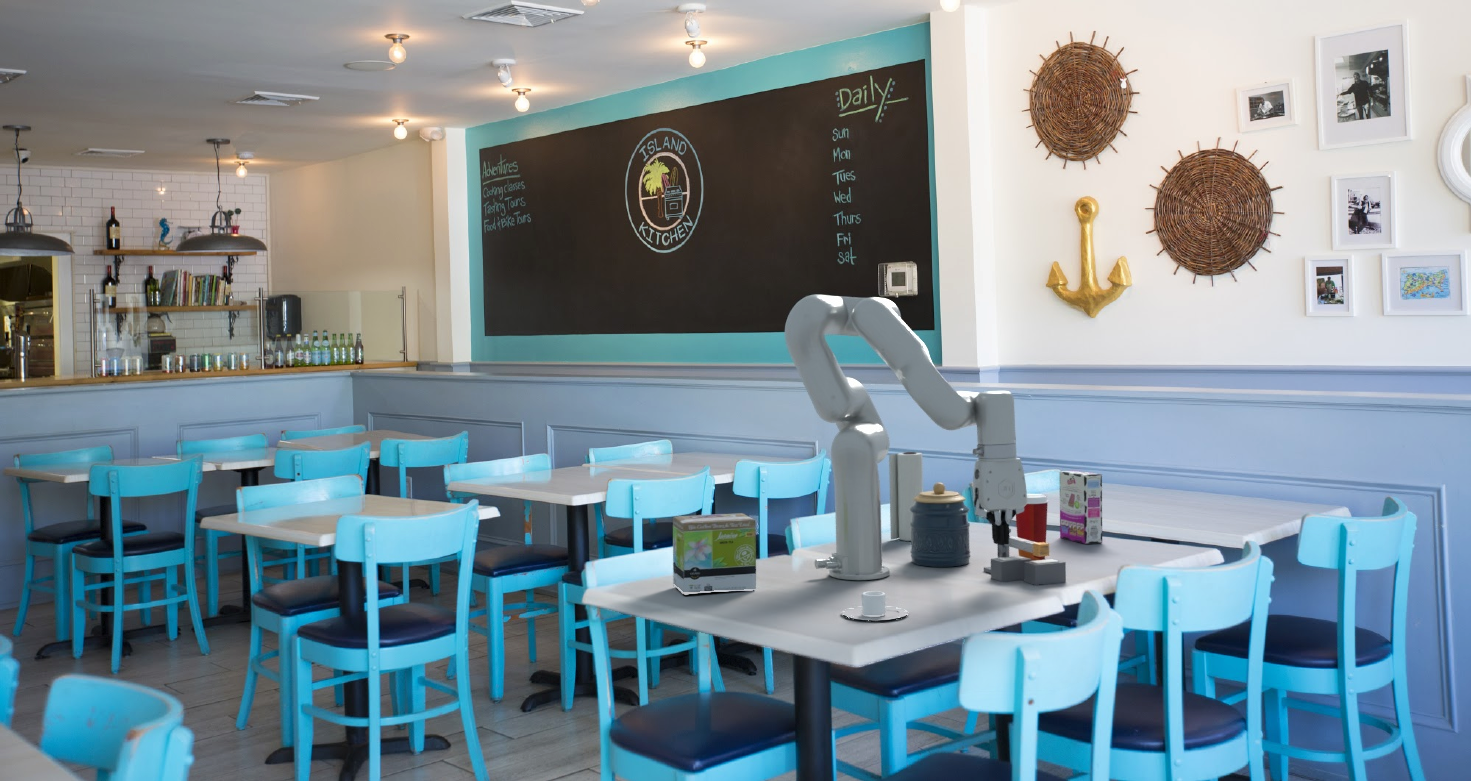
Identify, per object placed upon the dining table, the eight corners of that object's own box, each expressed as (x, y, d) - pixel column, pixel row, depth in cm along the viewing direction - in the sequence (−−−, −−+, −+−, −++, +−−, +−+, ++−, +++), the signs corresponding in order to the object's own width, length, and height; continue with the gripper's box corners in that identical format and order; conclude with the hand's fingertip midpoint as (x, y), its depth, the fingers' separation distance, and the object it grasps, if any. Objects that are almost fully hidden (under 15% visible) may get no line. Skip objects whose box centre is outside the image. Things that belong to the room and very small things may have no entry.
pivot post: (999, 576, 246) (998, 532, 246) (983, 571, 252) (982, 528, 251) (1024, 573, 248) (1023, 530, 248) (1008, 568, 254) (1007, 526, 253)
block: (1001, 581, 240) (1001, 560, 240) (991, 578, 244) (990, 557, 244) (1031, 578, 243) (1031, 558, 243) (1020, 575, 247) (1020, 554, 246)
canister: (899, 561, 266) (897, 482, 265) (946, 555, 272) (944, 477, 271) (934, 570, 254) (933, 487, 253) (982, 563, 260) (981, 483, 259)
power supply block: (1035, 585, 236) (1035, 564, 236) (1024, 581, 240) (1024, 560, 240) (1065, 582, 238) (1065, 561, 238) (1054, 578, 242) (1053, 557, 242)
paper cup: (1046, 555, 268) (1045, 492, 268) (1052, 561, 261) (1051, 497, 260) (1011, 555, 269) (1010, 493, 268) (1016, 561, 261) (1015, 498, 261)
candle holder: (904, 609, 220) (904, 585, 220) (912, 624, 208) (911, 599, 208) (839, 610, 221) (839, 586, 221) (843, 625, 209) (842, 600, 209)
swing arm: (1003, 546, 248) (1002, 535, 247) (1013, 545, 248) (1012, 534, 248) (1038, 556, 235) (1038, 544, 235) (1049, 555, 236) (1049, 543, 236)
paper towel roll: (927, 538, 295) (926, 452, 294) (917, 542, 289) (916, 454, 289) (900, 536, 298) (899, 451, 297) (890, 540, 293) (888, 453, 292)
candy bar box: (1104, 543, 281) (1103, 473, 281) (1085, 544, 280) (1084, 475, 279) (1076, 536, 292) (1075, 469, 291) (1059, 537, 291) (1058, 470, 290)
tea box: (684, 597, 234) (682, 522, 233) (673, 587, 243) (671, 515, 243) (757, 591, 238) (756, 517, 237) (744, 582, 247) (742, 510, 247)
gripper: (974, 456, 233) (978, 550, 234) (1039, 450, 238) (1043, 542, 239) (954, 454, 240) (958, 545, 241) (1019, 448, 245) (1023, 537, 246)
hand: (1001, 543), depth 240 cm, fingers closed
